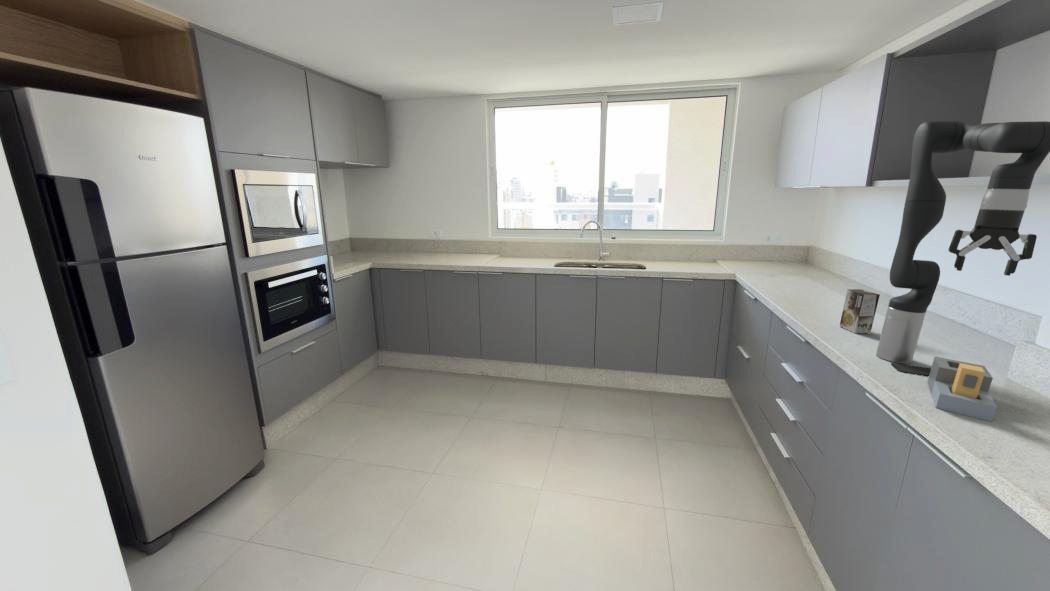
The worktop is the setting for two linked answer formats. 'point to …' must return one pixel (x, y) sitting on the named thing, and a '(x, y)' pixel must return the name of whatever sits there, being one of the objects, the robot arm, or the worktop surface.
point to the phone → (912, 369)
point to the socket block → (944, 399)
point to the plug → (968, 380)
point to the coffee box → (859, 310)
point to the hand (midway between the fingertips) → (982, 272)
